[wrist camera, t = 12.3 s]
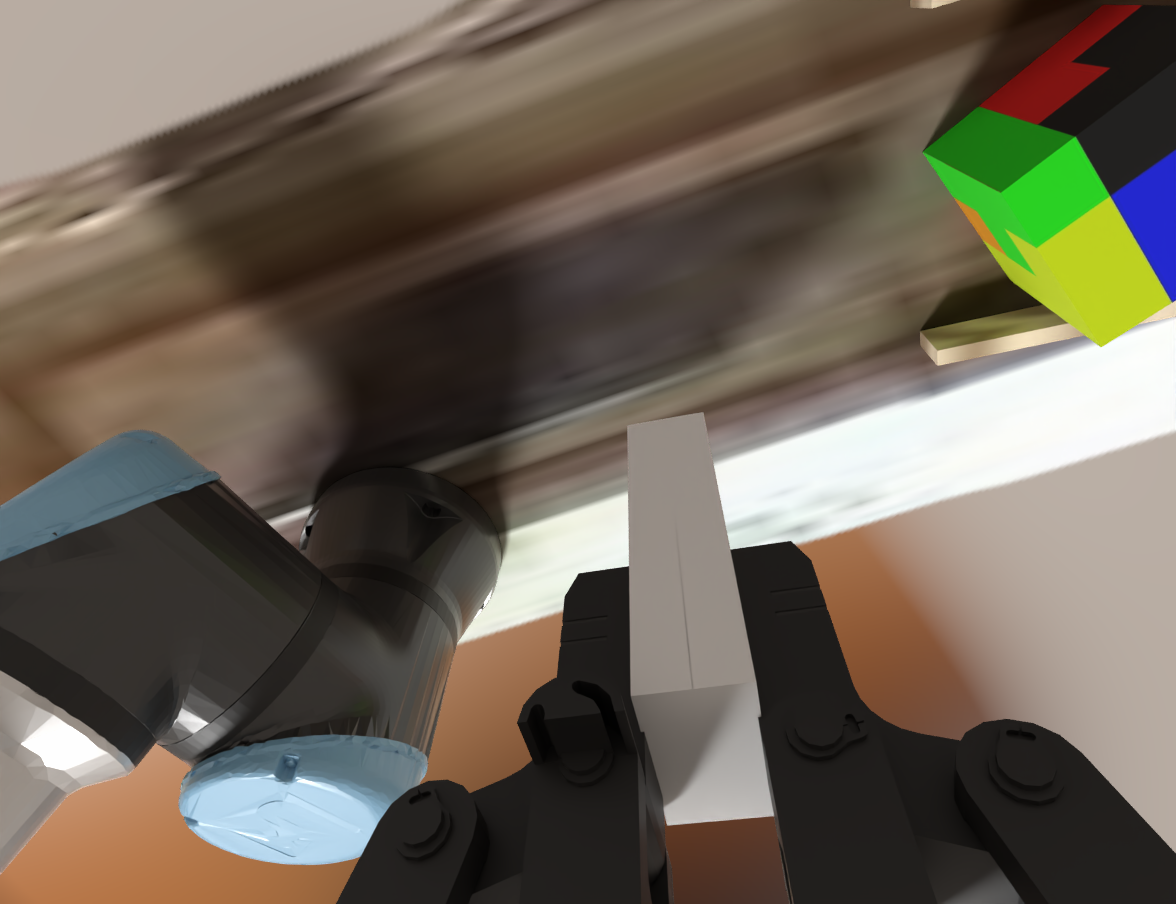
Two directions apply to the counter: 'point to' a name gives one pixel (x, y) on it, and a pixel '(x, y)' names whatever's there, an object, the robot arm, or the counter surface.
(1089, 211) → the puzzle toy
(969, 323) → the tray
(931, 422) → the counter surface
